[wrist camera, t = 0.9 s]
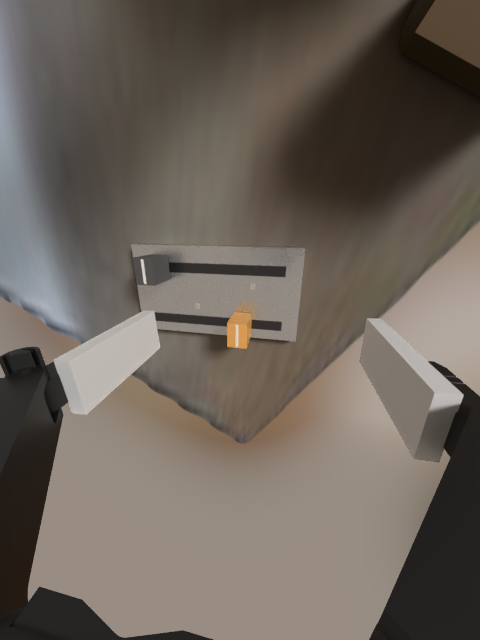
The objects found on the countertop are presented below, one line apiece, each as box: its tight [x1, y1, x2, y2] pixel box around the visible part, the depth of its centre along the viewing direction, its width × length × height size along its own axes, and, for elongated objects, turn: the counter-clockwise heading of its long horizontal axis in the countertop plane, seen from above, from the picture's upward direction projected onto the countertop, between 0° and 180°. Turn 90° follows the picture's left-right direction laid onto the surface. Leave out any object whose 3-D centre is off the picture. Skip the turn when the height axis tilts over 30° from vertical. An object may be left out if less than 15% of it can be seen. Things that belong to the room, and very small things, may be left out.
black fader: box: [133, 254, 170, 286], centre depth 37 cm, size 4×3×5 cm
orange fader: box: [227, 312, 252, 349], centre depth 37 cm, size 4×3×5 cm
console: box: [131, 244, 305, 341], centre depth 40 cm, size 15×28×2 cm, turn 89°
